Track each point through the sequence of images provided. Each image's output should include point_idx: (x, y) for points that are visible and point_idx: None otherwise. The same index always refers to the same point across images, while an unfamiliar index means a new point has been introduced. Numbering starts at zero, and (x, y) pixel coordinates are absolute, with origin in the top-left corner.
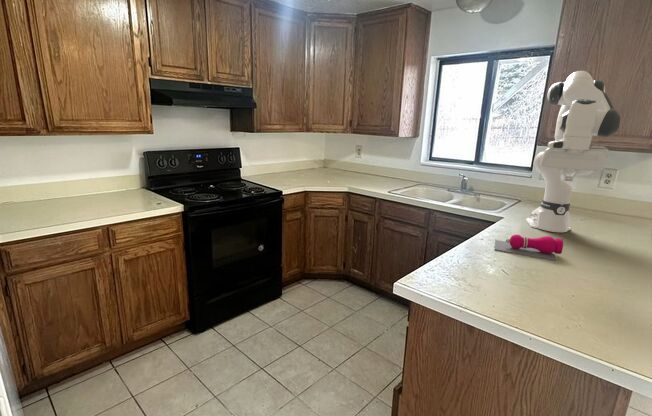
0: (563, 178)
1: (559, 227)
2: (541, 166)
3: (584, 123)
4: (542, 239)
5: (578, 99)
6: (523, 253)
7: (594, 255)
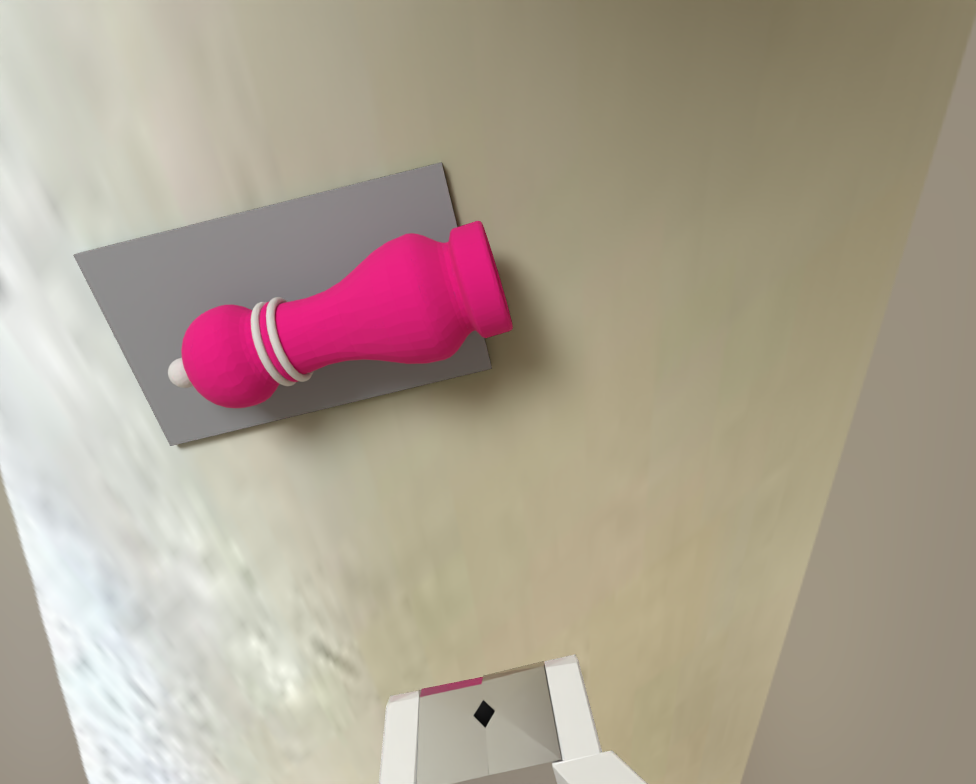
0: (387, 722)
1: None
2: None
3: None
4: (382, 351)
5: None
6: (320, 398)
7: (693, 29)
